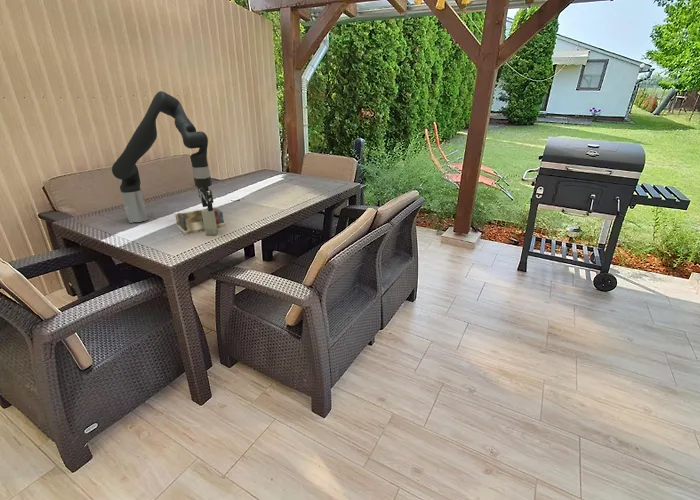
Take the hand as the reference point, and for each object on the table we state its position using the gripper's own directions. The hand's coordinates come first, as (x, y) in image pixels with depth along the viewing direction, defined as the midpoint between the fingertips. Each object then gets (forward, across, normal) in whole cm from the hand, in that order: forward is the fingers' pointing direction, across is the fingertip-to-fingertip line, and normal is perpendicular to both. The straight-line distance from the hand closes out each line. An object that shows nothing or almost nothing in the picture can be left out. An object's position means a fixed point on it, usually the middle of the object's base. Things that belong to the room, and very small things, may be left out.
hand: (207, 208), depth 172 cm
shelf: (+13, -13, -1) cm, 19 cm away
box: (+14, 0, 0) cm, 14 cm away
